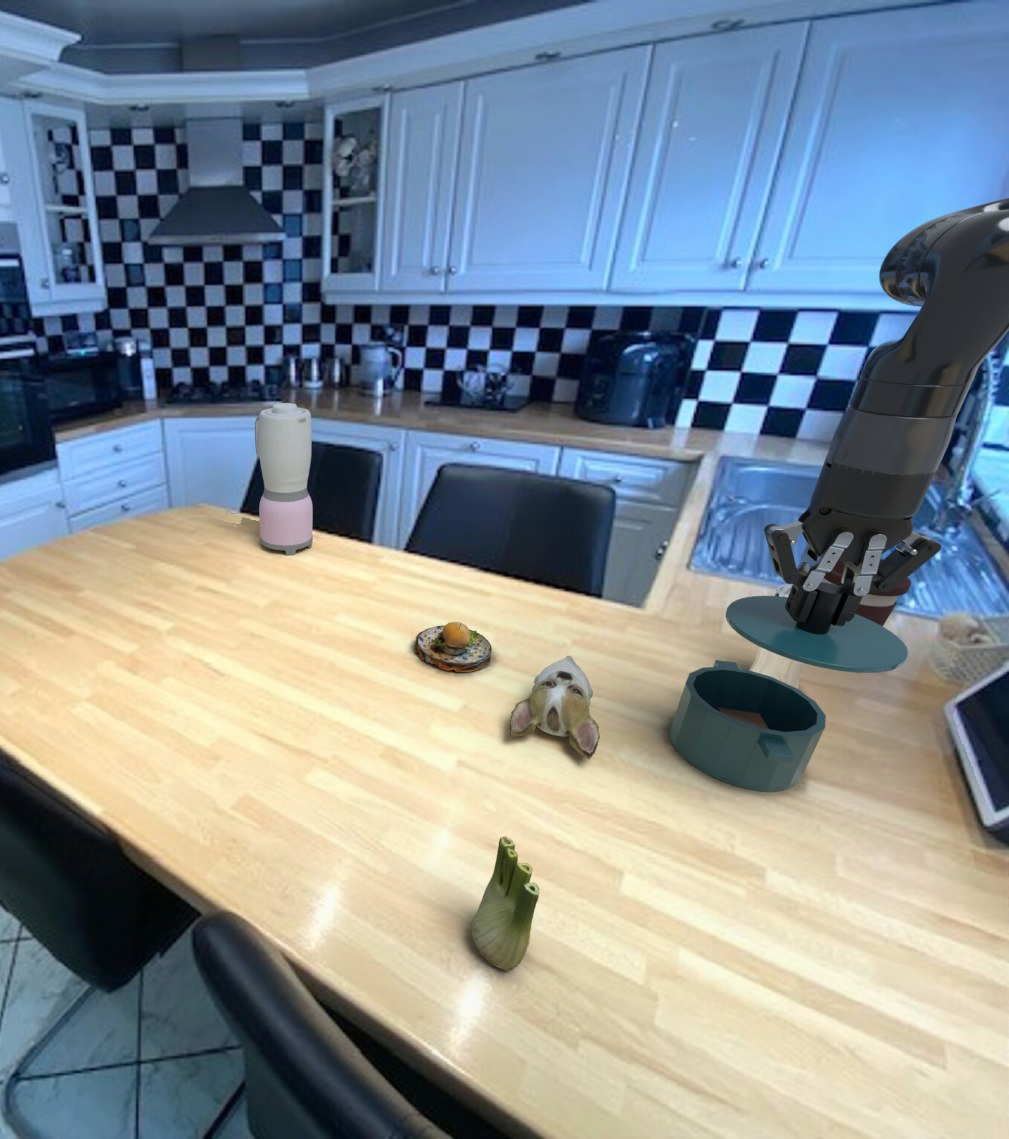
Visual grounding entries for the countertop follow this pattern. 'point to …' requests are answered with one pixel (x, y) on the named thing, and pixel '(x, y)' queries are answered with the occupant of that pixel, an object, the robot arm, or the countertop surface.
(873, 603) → the coffee cup
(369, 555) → the countertop surface
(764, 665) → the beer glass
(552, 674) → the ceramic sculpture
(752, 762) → the pot
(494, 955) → the fennel bulb
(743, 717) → the block
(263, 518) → the blender
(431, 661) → the burger
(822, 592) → the lid
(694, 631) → the countertop surface
